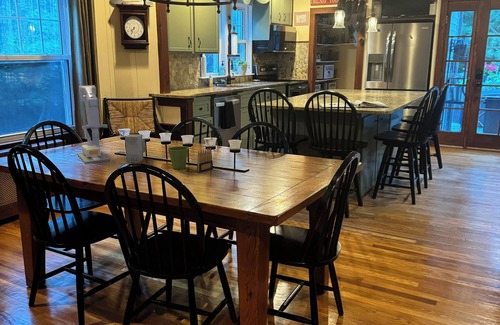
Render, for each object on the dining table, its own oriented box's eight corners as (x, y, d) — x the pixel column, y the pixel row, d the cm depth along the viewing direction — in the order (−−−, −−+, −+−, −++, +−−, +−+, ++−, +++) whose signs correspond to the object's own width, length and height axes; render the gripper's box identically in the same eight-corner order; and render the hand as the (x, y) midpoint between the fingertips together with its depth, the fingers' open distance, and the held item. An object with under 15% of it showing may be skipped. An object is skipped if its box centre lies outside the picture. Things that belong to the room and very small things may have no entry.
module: (85, 155, 276) (85, 148, 275) (99, 154, 280) (98, 147, 279) (87, 157, 272) (86, 150, 271) (100, 155, 276) (100, 148, 275)
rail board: (77, 155, 285) (76, 145, 284) (100, 153, 292) (99, 143, 291) (85, 163, 263) (84, 153, 262) (109, 160, 270) (109, 150, 268)
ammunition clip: (199, 173, 240) (198, 150, 238) (196, 172, 241) (196, 150, 239) (213, 169, 248) (212, 147, 246) (210, 168, 250) (210, 147, 247)
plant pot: (181, 164, 259) (180, 145, 257) (194, 168, 251) (193, 148, 249) (163, 168, 251) (162, 148, 249) (176, 171, 243) (175, 151, 241)
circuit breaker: (146, 157, 280) (145, 132, 277) (138, 162, 266) (137, 136, 263) (134, 156, 281) (133, 132, 277) (126, 161, 267) (124, 136, 264)
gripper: (82, 119, 269) (84, 142, 272) (107, 117, 276) (109, 140, 279) (80, 118, 275) (82, 140, 278) (105, 116, 282) (107, 138, 285)
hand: (96, 140), depth 279 cm, fingers open, 4 cm apart
